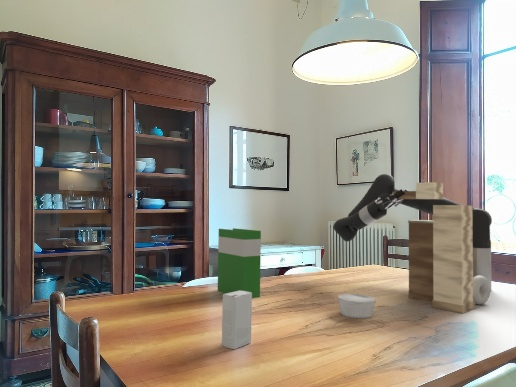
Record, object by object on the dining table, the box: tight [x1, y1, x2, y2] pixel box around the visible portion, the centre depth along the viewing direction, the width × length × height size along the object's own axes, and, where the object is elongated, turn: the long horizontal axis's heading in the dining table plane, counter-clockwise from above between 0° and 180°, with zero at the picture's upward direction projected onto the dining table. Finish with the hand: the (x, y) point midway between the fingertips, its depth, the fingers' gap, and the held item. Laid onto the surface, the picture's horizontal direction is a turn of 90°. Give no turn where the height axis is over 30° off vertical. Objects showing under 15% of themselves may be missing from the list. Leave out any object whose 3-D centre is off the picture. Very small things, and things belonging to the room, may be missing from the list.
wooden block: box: [431, 204, 476, 314], centre depth 130 cm, size 10×10×34 cm
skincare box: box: [221, 291, 253, 350], centre depth 92 cm, size 6×4×12 cm
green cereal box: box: [217, 227, 262, 299], centre depth 147 cm, size 18×7×24 cm, turn 36°
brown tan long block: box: [392, 181, 444, 199], centre depth 151 cm, size 7×18×6 cm, turn 41°
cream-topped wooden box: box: [407, 219, 433, 301], centre depth 146 cm, size 12×13×28 cm
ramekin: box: [337, 293, 376, 319], centre depth 120 cm, size 11×11×5 cm
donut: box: [473, 275, 491, 306], centre depth 135 cm, size 10×4×10 cm, turn 120°
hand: (405, 191), depth 154 cm, fingers closed on brown tan long block, 3 cm apart
